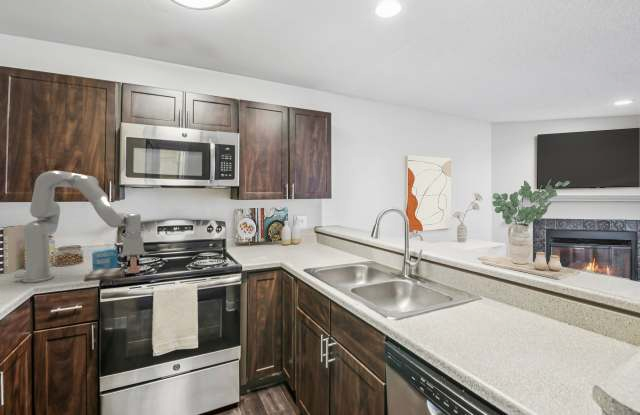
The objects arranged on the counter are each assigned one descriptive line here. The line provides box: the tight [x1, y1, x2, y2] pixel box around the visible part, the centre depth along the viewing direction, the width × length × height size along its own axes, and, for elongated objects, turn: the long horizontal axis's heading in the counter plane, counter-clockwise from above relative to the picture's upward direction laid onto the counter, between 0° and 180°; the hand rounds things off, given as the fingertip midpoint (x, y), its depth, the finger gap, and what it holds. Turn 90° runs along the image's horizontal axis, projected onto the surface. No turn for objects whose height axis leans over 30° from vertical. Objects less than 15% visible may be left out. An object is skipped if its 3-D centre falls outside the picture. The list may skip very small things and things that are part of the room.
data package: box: [91, 248, 119, 270], centre depth 188 cm, size 12×4×12 cm, turn 143°
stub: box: [126, 256, 141, 274], centre depth 179 cm, size 6×9×8 cm, turn 32°
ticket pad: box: [83, 267, 126, 282], centre depth 172 cm, size 18×10×4 cm, turn 122°
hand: (133, 266), depth 179 cm, fingers closed on stub, 3 cm apart
